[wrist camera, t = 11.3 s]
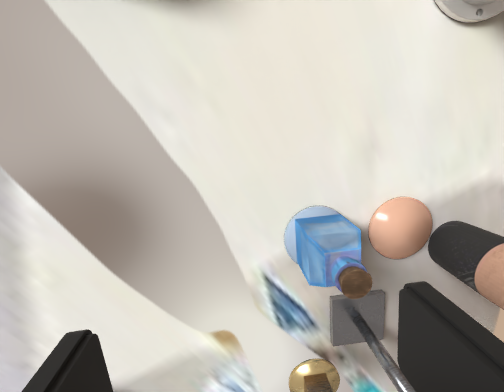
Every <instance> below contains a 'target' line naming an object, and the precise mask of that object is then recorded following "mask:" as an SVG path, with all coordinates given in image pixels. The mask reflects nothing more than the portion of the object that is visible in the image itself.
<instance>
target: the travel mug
mask: <svg viewBox="0 0 504 392" xmlns="http://www.w3.org/2000/svg"><path fill="white" fill-rule="evenodd" d="M428 251H429V254H430V256H431V258H432V259H433V260H434V261H435V262H436V263H437V264H438V265H440V266H441V267H443V268H444V269H445V270H447V271H448V272H450V273H451V274H452V275H454V276H455V277H457V278H458V279H459V280H461V281H462V282H464V283H465V284H467V285H468V286H469V287H471V288H472V289H474V290H475V291H476V292H478V293H479V294H481V295H482V296H484V297H485V298H487V299H488V300H490V301H491V302H493V303H494V304H496V305H497V306H499V307H500V308H502V309H504V237H502V236H500V235H497V234H494V233H491V232H489V231H486V230H483V229H481V228H478V227H475V226H472V225H470V224H467V223H464V222H460V221H451V222H447V223H445V224H443V225H441V226H440V227H438V228H437V229H436V230H435V231H434V233H433V234H432V236H431V238H430V240H429V244H428Z"/></svg>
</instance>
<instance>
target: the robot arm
mask: <svg viewBox="0 0 504 392" xmlns="http://www.w3.org/2000/svg"><path fill="white" fill-rule="evenodd" d="M435 2H436V4H437V5H438V6H439V7H440V9H441V10H442V11H443V12H444V13H445V14H447V15H448V16H449V17H451V18H453V19H455V20H457V21H462V22H479V21H483V20H486V19H488V18H491V17H494V16H496V15H497V14H499V13H501V12H503V11H504V0H435ZM398 365H399V367H400V370H401V372H402V373H403V375H404V376H405V378H406V379H407V380H408V382H409V383H410V385H411V386H412V387H413V389H414V390H415V392H504V343H503V342H502V341H501V340H499V339H498V338H497V337H496V336H495V335H493V334H492V333H491V332H489V331H488V330H487V329H486V328H484V327H483V326H482V325H481V324H479V323H478V322H477V321H475V320H474V319H473V318H472V317H470V316H469V315H468V314H467V313H465V312H464V311H463V310H461V309H460V308H459V307H458V306H456V305H455V304H454V303H453V302H451V301H450V300H449V299H447V298H446V297H445V296H444V295H442V294H441V293H440V292H439V291H437V290H436V289H435V288H433V287H432V286H431V285H430V284H428V283H427V282H416V283H409V284H405V286H404V288H403V289H402V290H400V293H399V323H398ZM22 392H113V389H112V385H111V382H110V378H109V374H108V371H107V367H106V363H105V360H104V356H103V352H102V349H101V345H100V341H99V338H98V335H97V334H92V332H91V331H90V330H81V331H74V332H69V333H66V334H65V335H64V337H63V338H62V339H61V341H60V342H59V343H58V345H57V346H56V347H55V348H54V350H53V351H52V352H51V354H50V355H49V356H48V358H47V359H46V360H45V362H44V363H43V364H42V366H41V367H40V368H39V369H38V371H37V372H36V373H35V375H34V376H33V377H32V379H31V380H30V381H29V383H28V384H27V385H26V387H25V388H24V389H23V391H22Z"/></svg>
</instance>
